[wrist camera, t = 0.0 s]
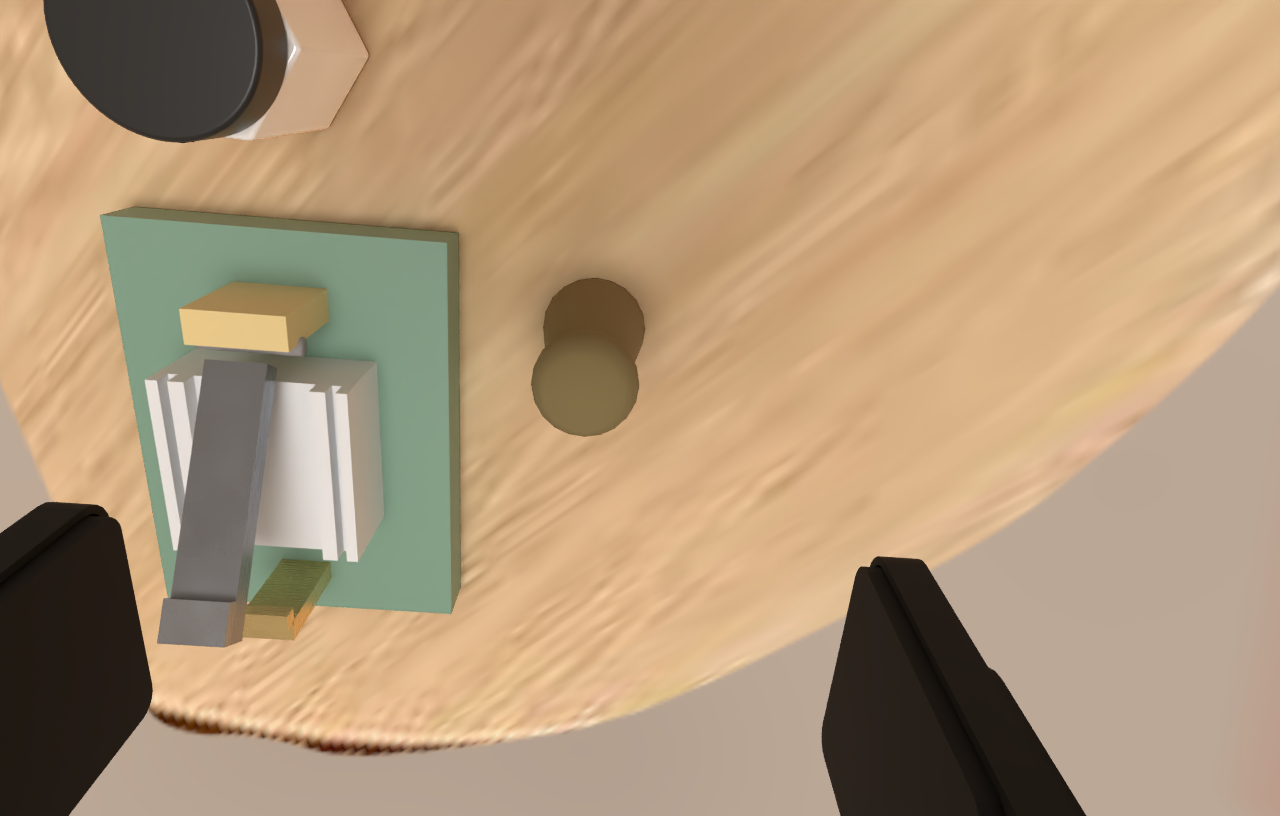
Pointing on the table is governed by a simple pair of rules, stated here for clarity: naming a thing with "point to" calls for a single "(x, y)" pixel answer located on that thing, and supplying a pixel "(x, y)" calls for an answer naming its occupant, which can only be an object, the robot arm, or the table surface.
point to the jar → (209, 64)
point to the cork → (589, 358)
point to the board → (364, 326)
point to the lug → (286, 599)
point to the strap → (220, 506)
